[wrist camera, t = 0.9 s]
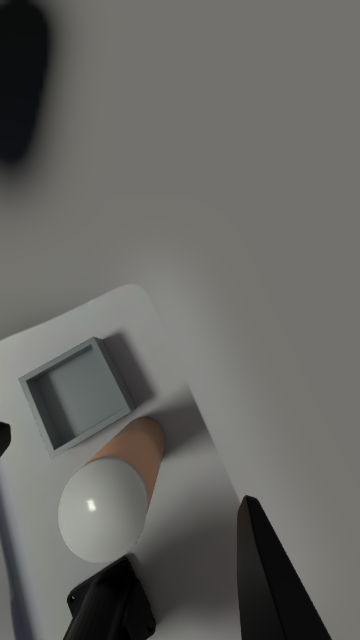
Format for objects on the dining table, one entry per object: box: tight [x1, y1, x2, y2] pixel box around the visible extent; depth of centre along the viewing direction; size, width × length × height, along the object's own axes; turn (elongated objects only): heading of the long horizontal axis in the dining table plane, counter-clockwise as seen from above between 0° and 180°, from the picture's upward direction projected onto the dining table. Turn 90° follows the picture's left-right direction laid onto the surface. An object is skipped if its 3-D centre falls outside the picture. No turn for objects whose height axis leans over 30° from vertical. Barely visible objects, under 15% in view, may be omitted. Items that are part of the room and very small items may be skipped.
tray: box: [19, 337, 136, 459], centre depth 25 cm, size 9×9×2 cm
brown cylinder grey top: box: [58, 417, 166, 563], centre depth 19 cm, size 5×5×12 cm
